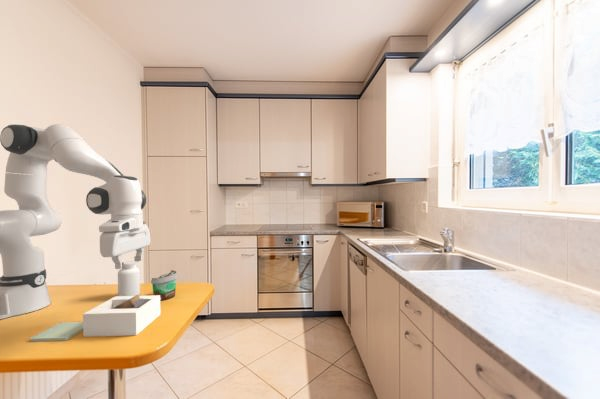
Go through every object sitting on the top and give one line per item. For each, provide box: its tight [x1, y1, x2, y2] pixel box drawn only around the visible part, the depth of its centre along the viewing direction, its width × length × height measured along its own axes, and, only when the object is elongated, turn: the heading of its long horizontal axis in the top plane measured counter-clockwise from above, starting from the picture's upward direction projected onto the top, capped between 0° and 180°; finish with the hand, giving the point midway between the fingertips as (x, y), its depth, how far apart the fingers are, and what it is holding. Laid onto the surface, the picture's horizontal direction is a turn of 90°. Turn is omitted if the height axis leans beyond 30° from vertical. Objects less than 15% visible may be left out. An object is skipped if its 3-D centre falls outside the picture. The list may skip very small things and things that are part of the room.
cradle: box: [133, 298, 145, 308], centre depth 85 cm, size 12×5×2 cm, turn 91°
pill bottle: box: [117, 260, 141, 296], centre depth 110 cm, size 8×8×15 cm
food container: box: [150, 270, 179, 302], centre depth 108 cm, size 12×6×10 cm, turn 168°
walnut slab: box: [112, 295, 140, 309], centre depth 85 cm, size 11×4×3 cm, turn 91°
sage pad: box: [28, 321, 83, 342], centre depth 81 cm, size 11×10×1 cm
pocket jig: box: [82, 294, 162, 337], centre depth 85 cm, size 16×14×7 cm
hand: (129, 264), depth 85 cm, fingers open, 8 cm apart
